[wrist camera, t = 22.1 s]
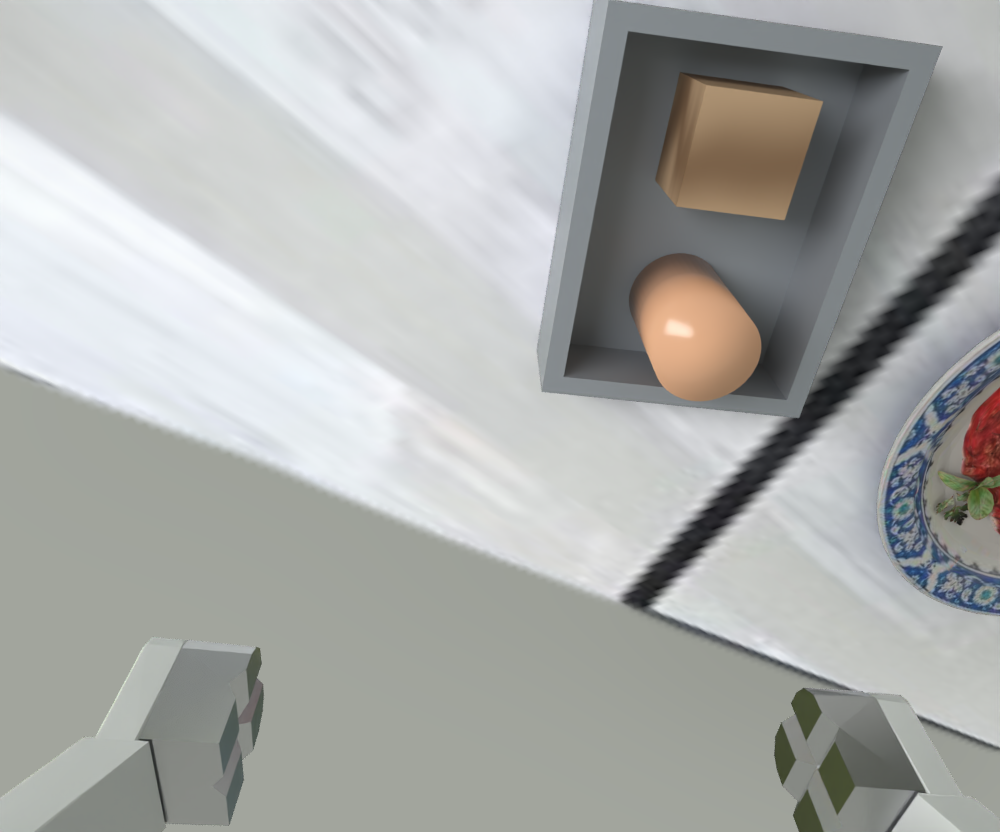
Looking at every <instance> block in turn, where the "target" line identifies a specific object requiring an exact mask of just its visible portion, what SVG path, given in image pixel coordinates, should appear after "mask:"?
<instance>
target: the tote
mask: <svg viewBox="0 0 1000 832" xmlns="http://www.w3.org/2000/svg"><path fill="white" fill-rule="evenodd" d="M942 47H943V46H936V45H929V44H922V43H916V42H909V41H902V40H895V39H888V38H881V37H874V36H867V35H860V34H853V33H845V32H838V31H831V30H824V29H817V28H810V27H803V26H795V25H788V24H781V23H774V22H767V21H760V20H753V19H746V18H738V17H731V16H724V15H717V14H710V13H703V12H696V11H688V10H681V9H674V8H667V7H660V6H653V5H646V4H638V3H631V2H624V1H617V0H594V1H593V7H592V13H591V19H590V25H589V31H588V38H587V44H586V50H585V56H584V62H583V69H582V75H581V81H580V87H579V93H578V99H577V106H576V112H575V118H574V124H573V130H572V136H571V143H570V149H569V155H568V161H567V167H566V174H565V180H564V186H563V192H562V198H561V204H560V211H559V217H558V223H557V229H556V235H555V241H554V248H553V254H552V260H551V266H550V272H549V279H548V285H547V291H546V297H545V303H544V309H543V316H542V322H541V328H540V334H539V340H538V346H537V355H538V364H539V373H540V381H541V390H542V392H550V393H559V394H569V395H579V396H589V397H598V398H608V399H618V400H628V401H637V402H647V403H657V404H667V405H676V406H686V407H696V408H706V409H715V410H725V411H735V412H745V413H754V414H764V415H774V416H784V417H793V418H799V417H800V414H801V411H802V409H803V406H804V404H805V401H806V398H807V396H808V393H809V391H810V388H811V385H812V383H813V380H814V378H815V375H816V373H817V370H818V367H819V365H820V362H821V360H822V357H823V354H824V352H825V349H826V347H827V344H828V342H829V339H830V336H831V334H832V331H833V329H834V326H835V323H836V321H837V318H838V316H839V313H840V311H841V308H842V305H843V303H844V300H845V298H846V295H847V292H848V290H849V287H850V285H851V282H852V279H853V277H854V274H855V272H856V269H857V267H858V264H859V261H860V259H861V256H862V254H863V251H864V248H865V246H866V243H867V241H868V238H869V236H870V233H871V230H872V228H873V225H874V223H875V220H876V217H877V215H878V212H879V210H880V207H881V205H882V202H883V199H884V197H885V194H886V192H887V189H888V186H889V184H890V181H891V179H892V176H893V174H894V171H895V168H896V166H897V163H898V161H899V158H900V155H901V153H902V150H903V148H904V145H905V142H906V140H907V137H908V135H909V132H910V130H911V127H912V124H913V122H914V119H915V117H916V114H917V111H918V109H919V106H920V104H921V101H922V99H923V96H924V93H925V91H926V88H927V86H928V83H929V80H930V78H931V75H932V73H933V70H934V68H935V65H936V62H937V60H938V57H939V55H940V52H941V49H942ZM680 72H682V73H689V74H697V75H704V76H711V77H718V78H725V79H732V80H740V81H747V82H754V83H761V84H768V85H775V86H782V87H785V88H788V89H791V90H793V91H796V92H799V93H802V94H804V95H807V96H810V97H813V98H815V99H818V100H821V101H823V104H822V107H821V110H820V113H819V116H818V119H817V122H816V125H815V128H814V131H813V134H812V137H811V140H810V144H809V147H808V150H807V153H806V156H805V159H804V162H803V165H802V168H801V171H800V174H799V177H798V180H797V183H796V186H795V189H794V192H793V196H792V199H791V202H790V205H789V208H788V211H787V214H786V217H785V220H779V219H771V218H763V217H755V216H747V215H739V214H731V213H723V212H715V211H708V210H700V209H692V208H684V207H676V205H675V204H674V203H673V202H672V201H671V199H670V198H669V197H668V196H667V194H666V193H665V192H664V191H663V189H662V188H661V187H660V186H659V184H658V183H657V182H656V181H655V179H656V174H657V170H658V165H659V161H660V157H661V152H662V148H663V144H664V139H665V135H666V131H667V126H668V122H669V117H670V113H671V109H672V104H673V100H674V96H675V91H676V87H677V83H678V78H679V74H680ZM677 253H685V254H691V255H695V256H697V257H700V258H702V259H703V260H705V261H706V262H707V263H709V264H710V265H711V266H712V268H713V269H714V270H715V272H716V273H717V274H718V276H719V277H720V278H721V280H722V281H723V282H724V284H725V285H726V286H727V288H728V289H729V290H730V292H731V293H732V294H733V296H734V297H735V298H736V300H737V301H738V302H739V304H740V305H741V306H742V308H743V309H744V310H745V312H746V313H747V315H748V316H749V317H750V319H751V320H752V321H753V323H754V324H755V326H756V327H757V329H758V332H759V334H760V338H761V354H760V358H759V361H758V364H757V366H756V368H755V370H754V372H753V373H752V374H751V376H750V377H749V378H748V379H747V381H746V382H745V383H744V384H742V385H741V386H740V387H739V388H737V389H736V390H735V391H733V392H731V393H729V394H728V395H725V396H723V397H720V398H717V399H714V400H709V401H690V400H685V399H682V398H679V397H677V396H675V395H673V394H671V393H670V392H669V391H667V390H666V389H665V388H664V387H663V386H662V384H661V383H660V382H659V380H658V378H657V376H656V373H655V371H654V369H653V366H652V364H651V361H650V359H649V356H648V354H647V352H646V349H645V347H644V344H643V342H642V339H641V337H640V335H639V332H638V330H637V327H636V325H635V322H634V320H633V318H632V315H631V312H630V307H629V295H630V291H631V287H632V285H633V283H634V281H635V279H636V277H637V276H638V275H639V273H640V272H641V271H642V270H643V269H644V268H645V267H646V266H647V265H649V264H650V263H651V262H653V261H654V260H656V259H658V258H660V257H663V256H666V255H670V254H677Z"/></svg>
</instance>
